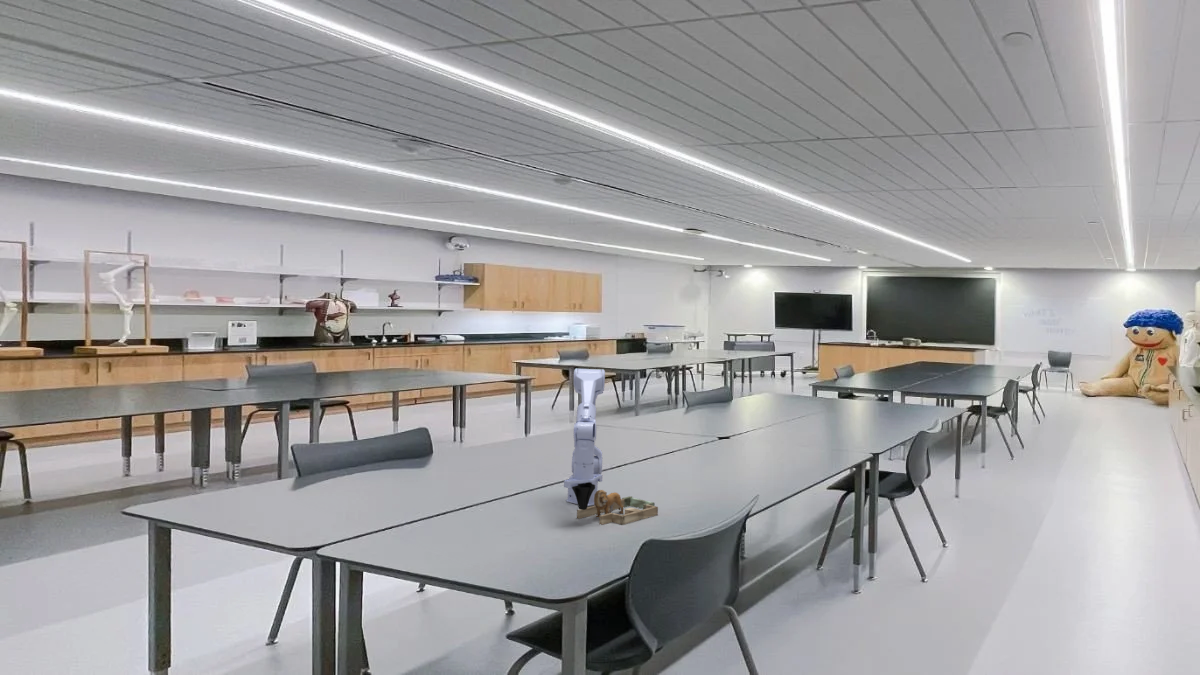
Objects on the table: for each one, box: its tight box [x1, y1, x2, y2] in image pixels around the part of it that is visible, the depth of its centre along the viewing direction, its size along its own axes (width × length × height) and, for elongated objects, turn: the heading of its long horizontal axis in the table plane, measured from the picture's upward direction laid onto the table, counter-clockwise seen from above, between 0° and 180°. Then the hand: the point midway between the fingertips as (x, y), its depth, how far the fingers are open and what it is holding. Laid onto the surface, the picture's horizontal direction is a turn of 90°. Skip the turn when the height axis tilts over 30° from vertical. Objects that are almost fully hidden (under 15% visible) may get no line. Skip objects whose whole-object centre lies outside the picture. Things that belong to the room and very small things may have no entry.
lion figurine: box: [593, 489, 624, 518], centre depth 239 cm, size 15×5×9 cm, turn 152°
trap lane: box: [576, 495, 659, 526], centre depth 239 cm, size 14×25×3 cm, turn 138°
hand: (582, 509), depth 229 cm, fingers closed
